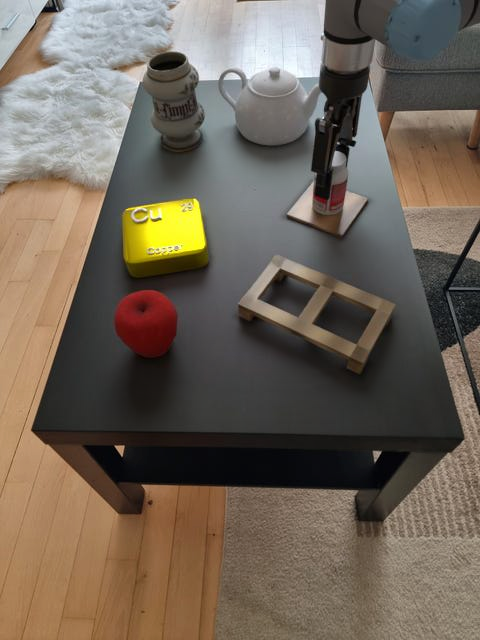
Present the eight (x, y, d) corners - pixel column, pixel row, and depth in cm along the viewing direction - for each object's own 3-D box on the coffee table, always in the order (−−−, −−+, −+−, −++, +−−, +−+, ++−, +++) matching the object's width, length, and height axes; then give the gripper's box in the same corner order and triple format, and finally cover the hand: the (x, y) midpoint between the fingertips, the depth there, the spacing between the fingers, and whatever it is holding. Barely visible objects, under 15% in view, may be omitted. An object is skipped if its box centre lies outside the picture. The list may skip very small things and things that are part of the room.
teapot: (289, 97, 119) (291, 39, 108) (325, 136, 109) (331, 76, 98) (220, 117, 116) (214, 60, 105) (251, 159, 106) (248, 100, 95)
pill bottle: (344, 197, 96) (351, 149, 87) (342, 217, 93) (349, 170, 84) (313, 194, 97) (317, 146, 88) (310, 215, 94) (314, 167, 85)
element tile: (129, 280, 87) (122, 262, 83) (127, 224, 96) (120, 205, 92) (210, 267, 88) (208, 249, 84) (201, 212, 97) (198, 194, 93)
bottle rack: (391, 317, 79) (396, 304, 77) (359, 374, 73) (363, 363, 71) (276, 267, 87) (276, 254, 84) (239, 316, 81) (237, 303, 78)
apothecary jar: (152, 129, 115) (135, 51, 100) (202, 120, 116) (192, 41, 101) (159, 159, 108) (141, 80, 93) (211, 149, 109) (202, 69, 94)
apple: (191, 358, 77) (181, 318, 68) (133, 378, 75) (115, 340, 66) (174, 312, 82) (163, 270, 74) (120, 330, 81) (101, 289, 72)
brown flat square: (368, 200, 96) (368, 198, 96) (342, 237, 91) (342, 235, 90) (314, 181, 100) (314, 179, 100) (286, 216, 95) (286, 214, 94)
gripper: (349, 30, 78) (334, 153, 97) (293, 87, 69) (288, 209, 88) (393, 40, 75) (369, 164, 94) (340, 100, 66) (325, 223, 85)
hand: (330, 186), depth 91 cm, fingers closed on pill bottle, 6 cm apart
